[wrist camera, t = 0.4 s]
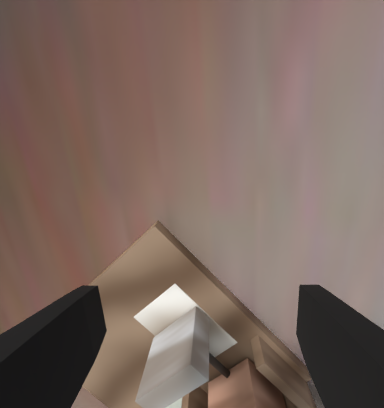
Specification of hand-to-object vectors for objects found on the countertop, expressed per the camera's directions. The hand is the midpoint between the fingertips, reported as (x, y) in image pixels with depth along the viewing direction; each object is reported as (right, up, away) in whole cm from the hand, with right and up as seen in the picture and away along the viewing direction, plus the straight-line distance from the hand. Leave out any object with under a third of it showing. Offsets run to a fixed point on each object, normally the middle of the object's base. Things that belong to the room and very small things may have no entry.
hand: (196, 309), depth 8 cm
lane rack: (-3, -10, +14) cm, 17 cm away
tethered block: (+2, -10, +12) cm, 15 cm away
